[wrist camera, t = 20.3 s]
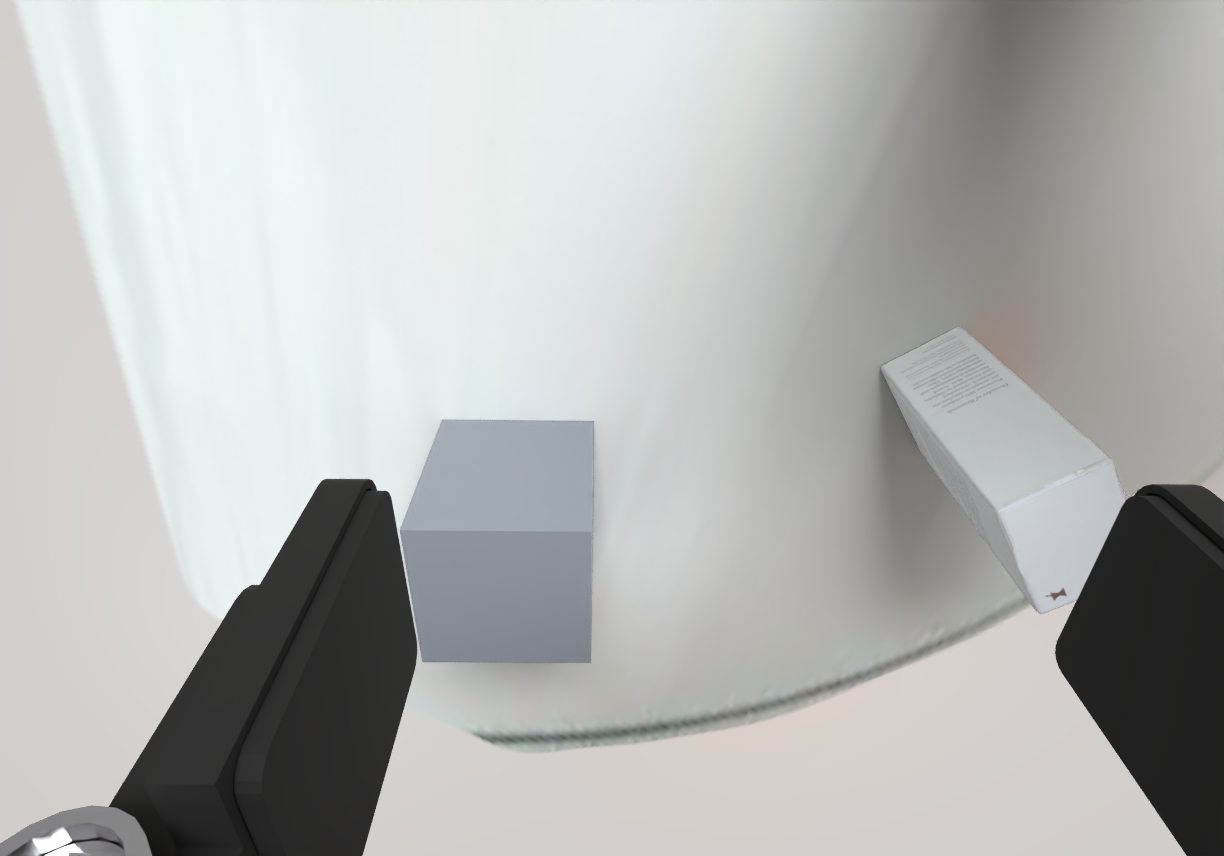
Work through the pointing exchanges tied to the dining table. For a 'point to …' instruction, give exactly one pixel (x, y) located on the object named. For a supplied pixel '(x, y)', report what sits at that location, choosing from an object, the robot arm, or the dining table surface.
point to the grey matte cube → (503, 542)
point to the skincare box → (1009, 464)
